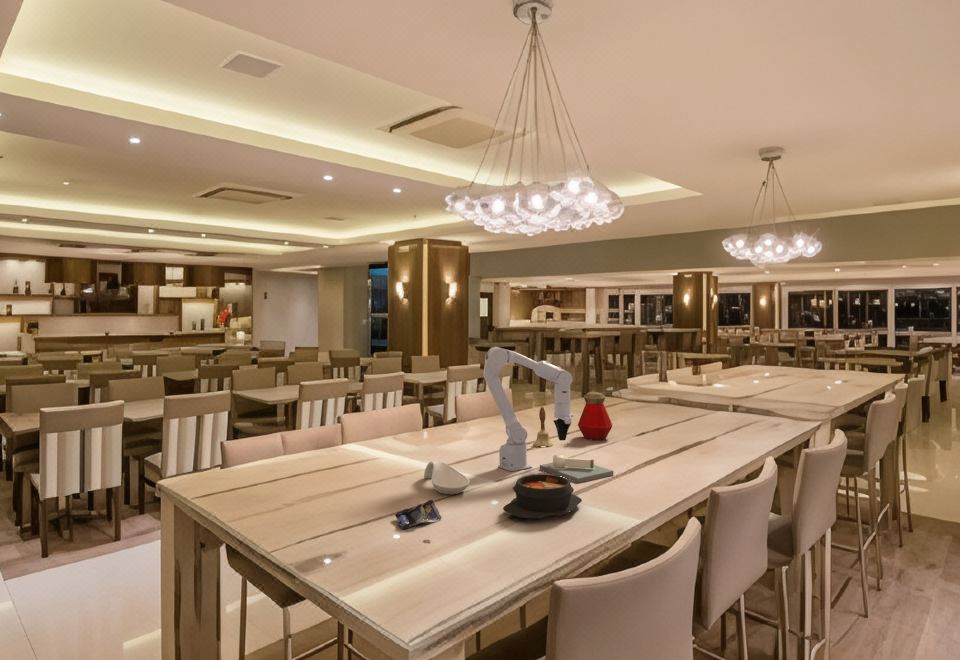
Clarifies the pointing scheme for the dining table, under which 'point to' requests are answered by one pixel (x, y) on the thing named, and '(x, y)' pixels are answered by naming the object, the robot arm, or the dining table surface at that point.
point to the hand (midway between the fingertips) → (562, 440)
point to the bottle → (595, 417)
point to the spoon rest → (446, 478)
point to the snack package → (418, 515)
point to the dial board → (578, 472)
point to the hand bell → (542, 432)
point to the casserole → (542, 497)
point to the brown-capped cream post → (572, 462)
